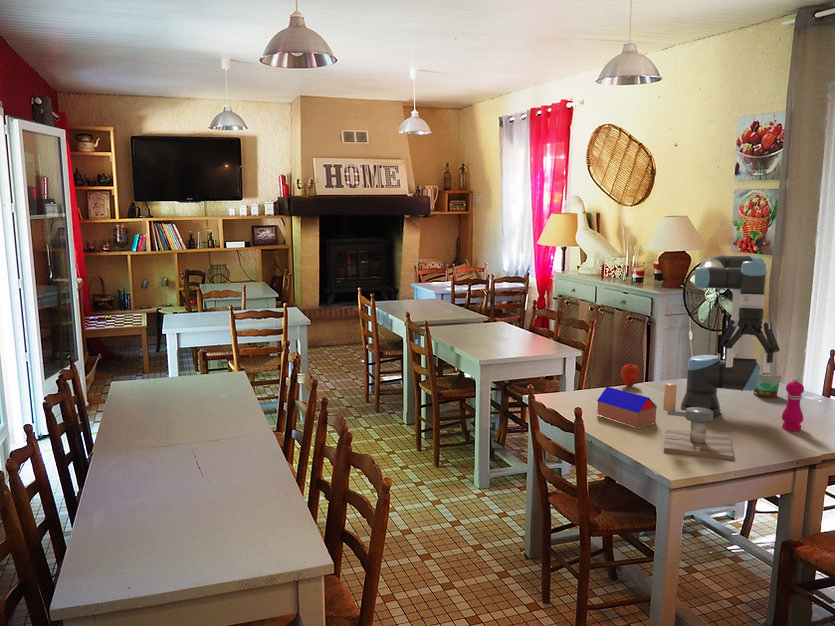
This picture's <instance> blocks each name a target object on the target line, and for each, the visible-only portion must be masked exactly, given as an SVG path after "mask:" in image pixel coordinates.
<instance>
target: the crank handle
mask: <svg viewBox="0 0 835 626" xmlns="http://www.w3.org/2000/svg"><path fill="white" fill-rule="evenodd" d="M677 386H678V385H677V383H673V382H666V383H664V389H663V390H664V391H663V393H664V394H663V406H662V407H663V408H662V410H663V411H665V412H667V416H675V417H684V418H685V419H686V420H687V421H690V422H691V421H692V422H697V423H706V424H709V423H712V422H713V421H714V416H713V411H712V410H710V409H706V408H701V407H690V408H687V409H686V411H685V410H681V409H676V401H677V388H678V387H677Z"/></svg>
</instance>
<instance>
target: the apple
mask: <svg viewBox="0 0 835 626" xmlns="http://www.w3.org/2000/svg"><path fill="white" fill-rule="evenodd" d="M620 376H621V380H622V381H623V383H624V385H625V386H626V387H627V386H628V387H627V388H631V387H633V386H634V385H635V384H636V383H637V381H638V379H639V378H640V369H639V367H638V366H637V365H636V364H632V363H631V364H630V363H629V364H628V363H627V364H625V365H624V366H623V367H622V368H621V370H620Z"/></svg>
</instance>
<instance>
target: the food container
mask: <svg viewBox="0 0 835 626" xmlns="http://www.w3.org/2000/svg"><path fill="white" fill-rule="evenodd" d="M782 380H783V378H782V374H781V373H780V374H779V375H771V374H759V378H758V382H757V386H756V388H755V389H754V390H753V395H754V396H755V395H756V397H758V396H759V397H758V398H763V397H764V398H765V399H775V398H777V397H778V392H779V386H780V382H781V381H782Z"/></svg>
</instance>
